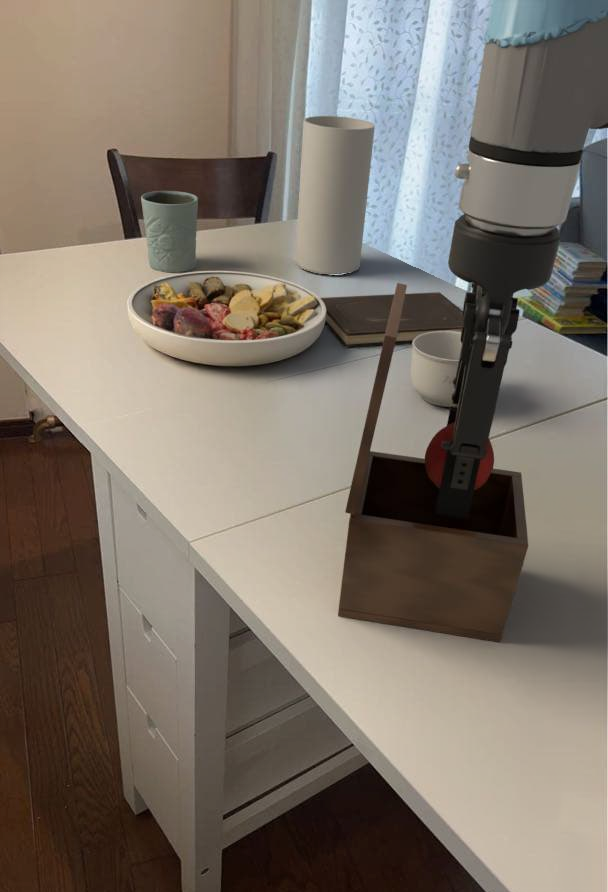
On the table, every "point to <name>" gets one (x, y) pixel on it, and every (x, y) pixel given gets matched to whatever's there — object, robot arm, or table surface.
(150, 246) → the green embossed cup
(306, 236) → the cylinder vase
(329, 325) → the hardcover book
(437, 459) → the onion
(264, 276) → the bowl
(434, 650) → the table surface
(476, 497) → the box
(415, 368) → the teacup
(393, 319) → the lid
